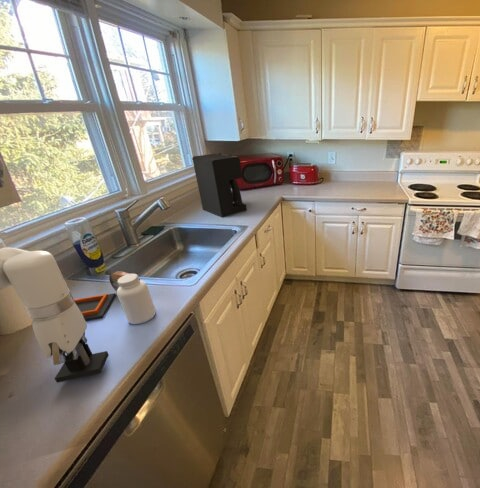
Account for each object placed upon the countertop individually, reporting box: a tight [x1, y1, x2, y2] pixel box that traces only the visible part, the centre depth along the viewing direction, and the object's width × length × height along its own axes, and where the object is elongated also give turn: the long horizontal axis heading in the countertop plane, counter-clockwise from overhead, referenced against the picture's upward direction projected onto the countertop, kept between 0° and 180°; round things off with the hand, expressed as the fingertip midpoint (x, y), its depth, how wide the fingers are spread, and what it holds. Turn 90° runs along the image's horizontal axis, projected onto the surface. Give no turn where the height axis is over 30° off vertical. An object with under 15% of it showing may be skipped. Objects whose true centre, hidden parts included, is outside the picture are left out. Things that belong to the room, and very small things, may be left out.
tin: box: [108, 270, 141, 292], centre depth 101 cm, size 15×3×8 cm, turn 67°
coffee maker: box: [191, 153, 248, 218], centre depth 180 cm, size 28×20×35 cm
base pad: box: [73, 292, 117, 322], centre depth 94 cm, size 16×13×2 cm
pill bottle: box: [116, 273, 157, 325], centre depth 88 cm, size 8×8×15 cm
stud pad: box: [54, 343, 110, 384], centre depth 70 cm, size 9×6×7 cm, turn 109°
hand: (81, 362), depth 70 cm, fingers closed on stud pad, 3 cm apart
